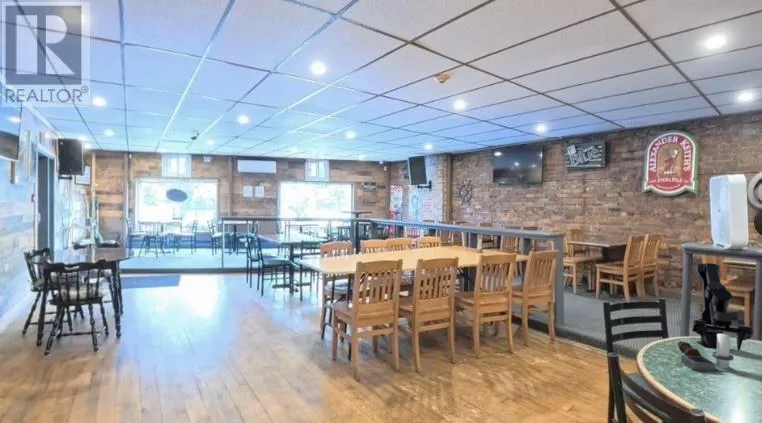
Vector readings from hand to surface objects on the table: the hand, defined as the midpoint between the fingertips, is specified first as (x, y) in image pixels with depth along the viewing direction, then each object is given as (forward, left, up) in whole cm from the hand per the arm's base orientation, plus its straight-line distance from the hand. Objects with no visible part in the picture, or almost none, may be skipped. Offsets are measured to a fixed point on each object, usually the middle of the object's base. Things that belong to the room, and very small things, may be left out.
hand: (723, 348), depth 165 cm
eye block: (-1, -8, -9) cm, 12 cm away
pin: (-1, +1, -8) cm, 8 cm away
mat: (-1, +1, -9) cm, 9 cm away
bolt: (-15, -5, -9) cm, 18 cm away
